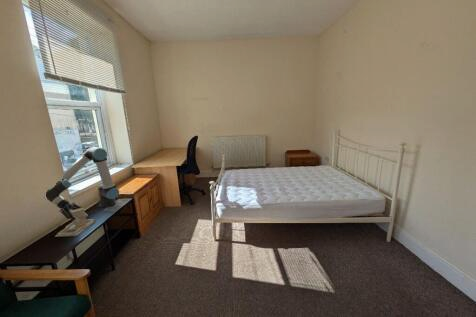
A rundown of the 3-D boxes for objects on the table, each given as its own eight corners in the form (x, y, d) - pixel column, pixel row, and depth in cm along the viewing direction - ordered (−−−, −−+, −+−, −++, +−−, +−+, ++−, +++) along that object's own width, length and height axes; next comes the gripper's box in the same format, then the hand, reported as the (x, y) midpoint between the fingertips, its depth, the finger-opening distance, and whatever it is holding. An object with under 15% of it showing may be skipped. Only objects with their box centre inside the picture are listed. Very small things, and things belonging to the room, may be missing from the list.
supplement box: (85, 220, 179) (83, 207, 176) (86, 222, 175) (83, 209, 173) (73, 224, 173) (71, 210, 170) (74, 226, 170) (71, 212, 167)
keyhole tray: (76, 222, 180) (75, 220, 180) (95, 221, 180) (94, 219, 180) (54, 236, 158) (54, 233, 158) (76, 235, 159) (75, 233, 158)
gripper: (68, 200, 181) (89, 215, 184) (46, 211, 160) (70, 228, 163) (73, 194, 180) (94, 210, 183) (52, 204, 159) (76, 222, 162)
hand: (83, 218), depth 173 cm, fingers closed on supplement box, 9 cm apart
